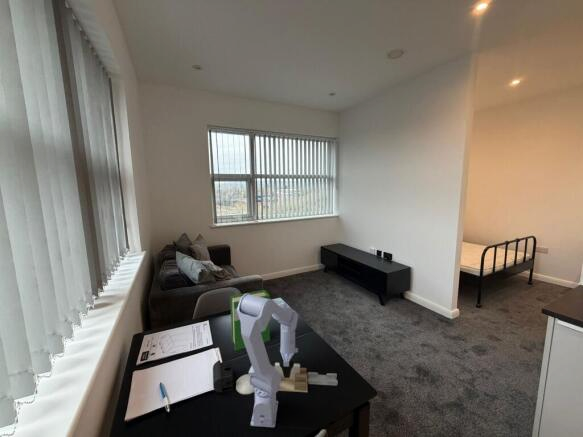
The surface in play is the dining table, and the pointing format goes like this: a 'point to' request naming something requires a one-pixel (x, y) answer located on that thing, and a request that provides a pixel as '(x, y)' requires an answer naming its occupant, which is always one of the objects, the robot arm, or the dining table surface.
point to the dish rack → (295, 382)
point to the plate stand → (322, 379)
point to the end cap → (222, 376)
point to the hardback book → (237, 324)
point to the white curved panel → (294, 371)
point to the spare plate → (244, 385)
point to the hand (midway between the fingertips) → (287, 369)
